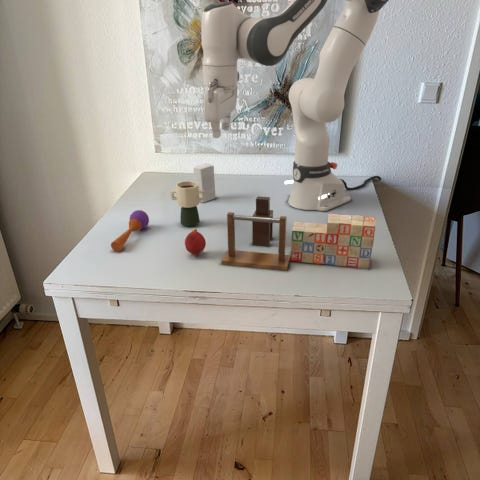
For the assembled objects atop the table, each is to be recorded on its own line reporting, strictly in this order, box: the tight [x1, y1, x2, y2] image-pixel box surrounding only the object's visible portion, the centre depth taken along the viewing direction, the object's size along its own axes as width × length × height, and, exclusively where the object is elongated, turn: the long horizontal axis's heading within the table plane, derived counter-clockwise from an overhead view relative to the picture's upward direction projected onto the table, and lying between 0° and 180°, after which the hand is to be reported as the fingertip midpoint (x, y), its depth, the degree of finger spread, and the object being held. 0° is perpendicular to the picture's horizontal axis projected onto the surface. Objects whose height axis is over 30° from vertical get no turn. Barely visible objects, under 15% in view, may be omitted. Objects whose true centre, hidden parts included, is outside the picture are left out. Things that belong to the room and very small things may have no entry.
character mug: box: [170, 180, 205, 227], centre depth 154 cm, size 11×7×13 cm, turn 84°
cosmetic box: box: [193, 162, 216, 204], centre depth 173 cm, size 6×4×12 cm
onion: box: [184, 228, 207, 256], centre depth 136 cm, size 6×6×8 cm
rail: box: [221, 211, 291, 272], centre depth 131 cm, size 18×7×14 cm, turn 76°
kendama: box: [110, 209, 150, 253], centre depth 148 cm, size 6×6×20 cm
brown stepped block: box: [251, 195, 274, 247], centre depth 142 cm, size 6×5×14 cm
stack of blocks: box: [290, 213, 377, 270], centre depth 131 cm, size 21×6×12 cm, turn 77°
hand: (221, 133), depth 133 cm, fingers open, 8 cm apart
